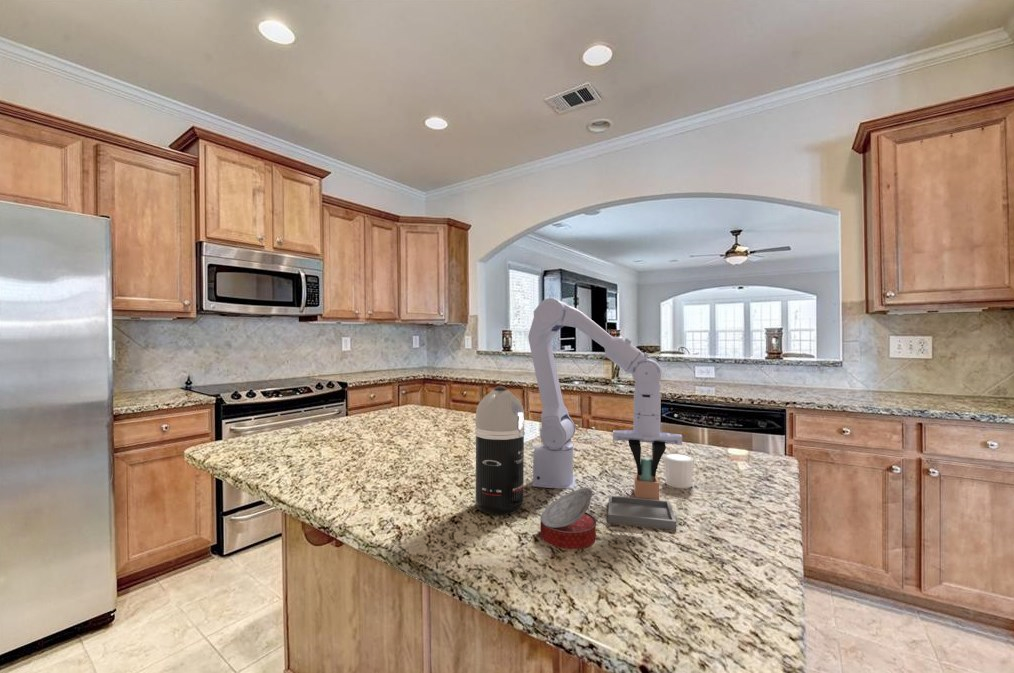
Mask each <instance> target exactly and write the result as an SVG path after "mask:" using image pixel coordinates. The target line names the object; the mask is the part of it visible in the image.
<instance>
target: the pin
mask: <svg viewBox="0 0 1014 673" xmlns="http://www.w3.org/2000/svg"><path fill="white" fill-rule="evenodd" d="M640 461H641V481H649V482H652V458H649V457H641V460H640Z"/></svg>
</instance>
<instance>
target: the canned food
mask: <svg viewBox="0 0 1014 673" xmlns="http://www.w3.org/2000/svg"><path fill="white" fill-rule="evenodd" d="M592 496H593V490H591V489H590V488H588V487H585V488H579V489H576V490H573V491H570V492H568V493H567V494H564V495H562V496H560V497H559V498H557V499H555V500H554V501H552V502H550V504H549V505H548V506H546V507H545V508H544V510H543V512H542V513H541V515H540V518H539V519H540V524H539V525H540V528H539V529H540V531H539V532H540V533H539V534H540V538H541V539H542V541H544V542H545V543H546V544H548V545H550V546H553V547H556V548H561V549H567V550H577V549H584V548H587V547H589V546H592V545H594V543H595V542H596V539H597V521H596V518H595V516H593V515H591V514H590V513H588V512H587V510H588V509H589V507H590V505H591V504H590V503H591V500H592Z"/></svg>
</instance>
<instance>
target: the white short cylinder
mask: <svg viewBox="0 0 1014 673" xmlns="http://www.w3.org/2000/svg"><path fill="white" fill-rule="evenodd" d="M663 465H664V476H665V484H667V486H669V487H671V488H675V489H676V488H677V489H689V488H691V487H692V485H693V475H694V465H695V457H693V456H691V455H689V454H684V453H676V452H673V453H672V452H671V453H665V454H663Z"/></svg>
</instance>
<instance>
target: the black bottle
mask: <svg viewBox="0 0 1014 673" xmlns="http://www.w3.org/2000/svg"><path fill="white" fill-rule="evenodd" d="M474 430H475V432H474V435H475V489H474V490H475V498H474V499H475V505H476V507H477V509H479V510H480V511H482V512H483V513H486V514H489V515H496V516H497V515H498V516H499V515H500V516H501V515H502V516H503V515H509V514H513V513H515V512H517V511H519V510H520V509H521V508H522V506H523V504H524V483H525V482H524V480H525V479H524V470H525V468H524V467H525V465H524V464H525V463H524V460H525V459H524V458H525V452H524V451H525V434H526V432H525V408H524V407H523V405H522V403H521V401H520V400H519V399H518V398H517V397H516V396H515V395H514V394H513V393H512V392H511V391H509V390H508V389H507V388H506V387H505V386H502V385H499V386H496V387H494V388H493V390H491V391H490V392H489V393H487V394H486V395H485V396H484V397H483V398H482V399H481V400H480V402H479V403H478V405H477V407H476V410H475V429H474Z"/></svg>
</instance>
